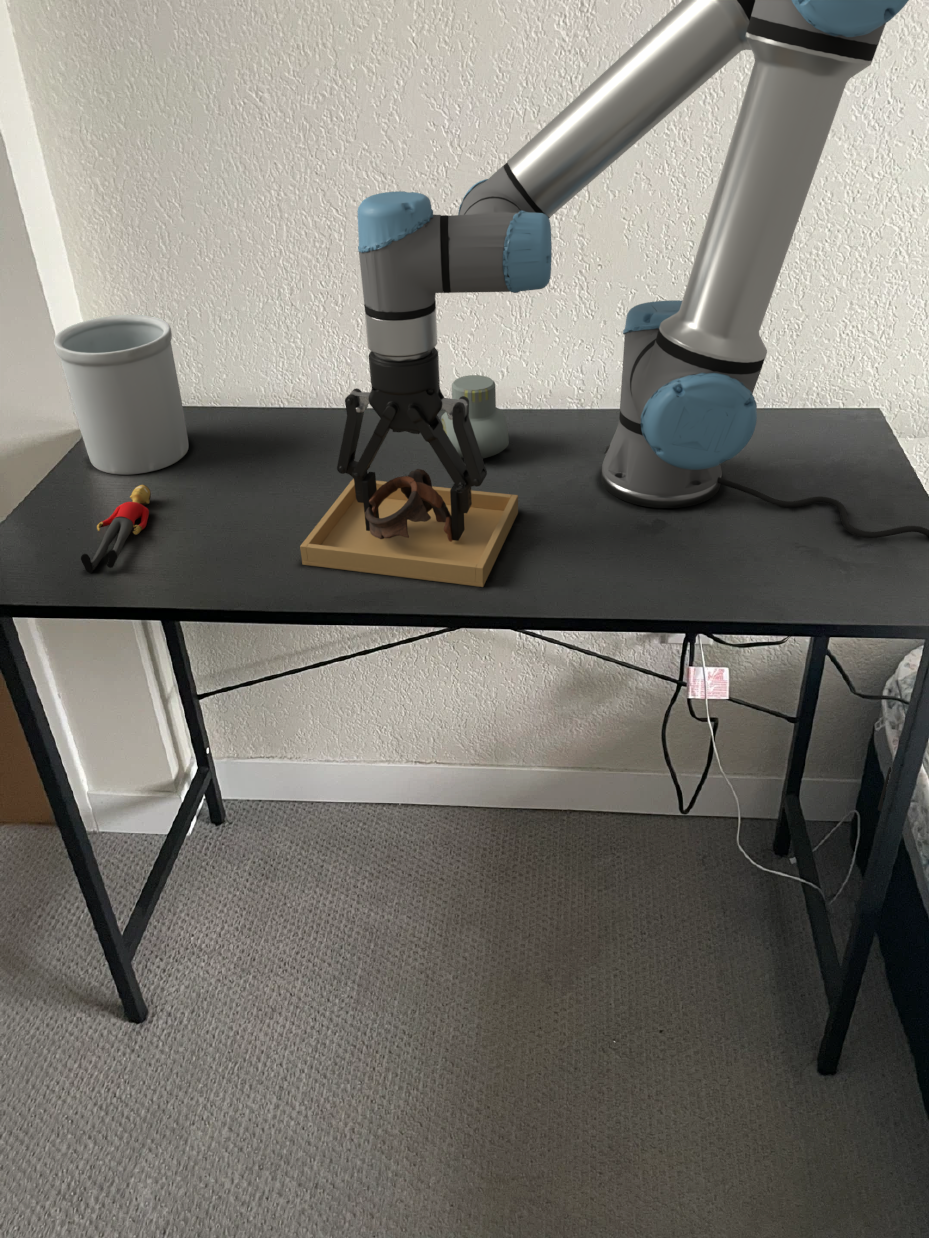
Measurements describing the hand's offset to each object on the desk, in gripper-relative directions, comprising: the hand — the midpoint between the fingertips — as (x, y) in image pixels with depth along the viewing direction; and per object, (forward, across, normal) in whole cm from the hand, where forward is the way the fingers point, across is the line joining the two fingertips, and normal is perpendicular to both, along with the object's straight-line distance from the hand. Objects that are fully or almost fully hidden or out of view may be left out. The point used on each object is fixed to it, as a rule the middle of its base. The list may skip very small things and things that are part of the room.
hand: (415, 530), depth 122 cm
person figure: (+1, +35, +7) cm, 36 cm away
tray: (+1, 0, 0) cm, 1 cm away
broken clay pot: (0, 0, 0) cm, 0 cm away
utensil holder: (+1, +45, -14) cm, 47 cm away
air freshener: (+1, -1, -25) cm, 25 cm away
